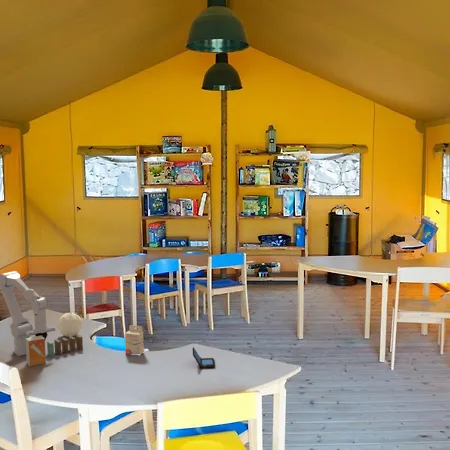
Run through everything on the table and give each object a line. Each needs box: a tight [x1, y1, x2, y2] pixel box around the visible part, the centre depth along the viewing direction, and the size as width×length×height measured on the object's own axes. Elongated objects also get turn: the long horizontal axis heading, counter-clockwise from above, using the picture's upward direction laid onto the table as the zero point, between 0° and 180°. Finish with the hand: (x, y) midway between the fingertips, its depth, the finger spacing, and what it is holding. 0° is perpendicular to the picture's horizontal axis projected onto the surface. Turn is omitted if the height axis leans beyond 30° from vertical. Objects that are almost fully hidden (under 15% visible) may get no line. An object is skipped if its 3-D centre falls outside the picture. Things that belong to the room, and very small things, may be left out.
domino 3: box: [61, 337, 70, 354], centre depth 302 cm, size 2×5×7 cm, turn 37°
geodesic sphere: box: [57, 311, 83, 338], centre depth 329 cm, size 15×14×14 cm
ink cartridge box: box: [124, 324, 145, 355], centre depth 296 cm, size 9×5×15 cm, turn 71°
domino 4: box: [68, 336, 77, 353], centre depth 304 cm, size 2×5×7 cm, turn 37°
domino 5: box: [75, 334, 84, 351], centre depth 306 cm, size 2×5×7 cm, turn 38°
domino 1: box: [46, 340, 55, 357], centre depth 297 cm, size 2×5×7 cm, turn 37°
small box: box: [25, 336, 47, 367], centre depth 285 cm, size 8×6×13 cm
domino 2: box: [53, 338, 62, 356], centre depth 299 cm, size 2×5×7 cm, turn 37°
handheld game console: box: [192, 346, 216, 369], centre depth 280 cm, size 12×11×7 cm
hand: (41, 346), depth 294 cm, fingers closed
